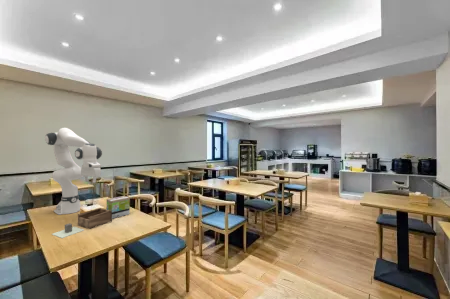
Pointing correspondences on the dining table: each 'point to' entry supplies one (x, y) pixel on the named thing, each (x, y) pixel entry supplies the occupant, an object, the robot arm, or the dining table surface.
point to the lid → (67, 231)
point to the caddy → (94, 218)
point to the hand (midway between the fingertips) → (90, 182)
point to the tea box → (119, 206)
